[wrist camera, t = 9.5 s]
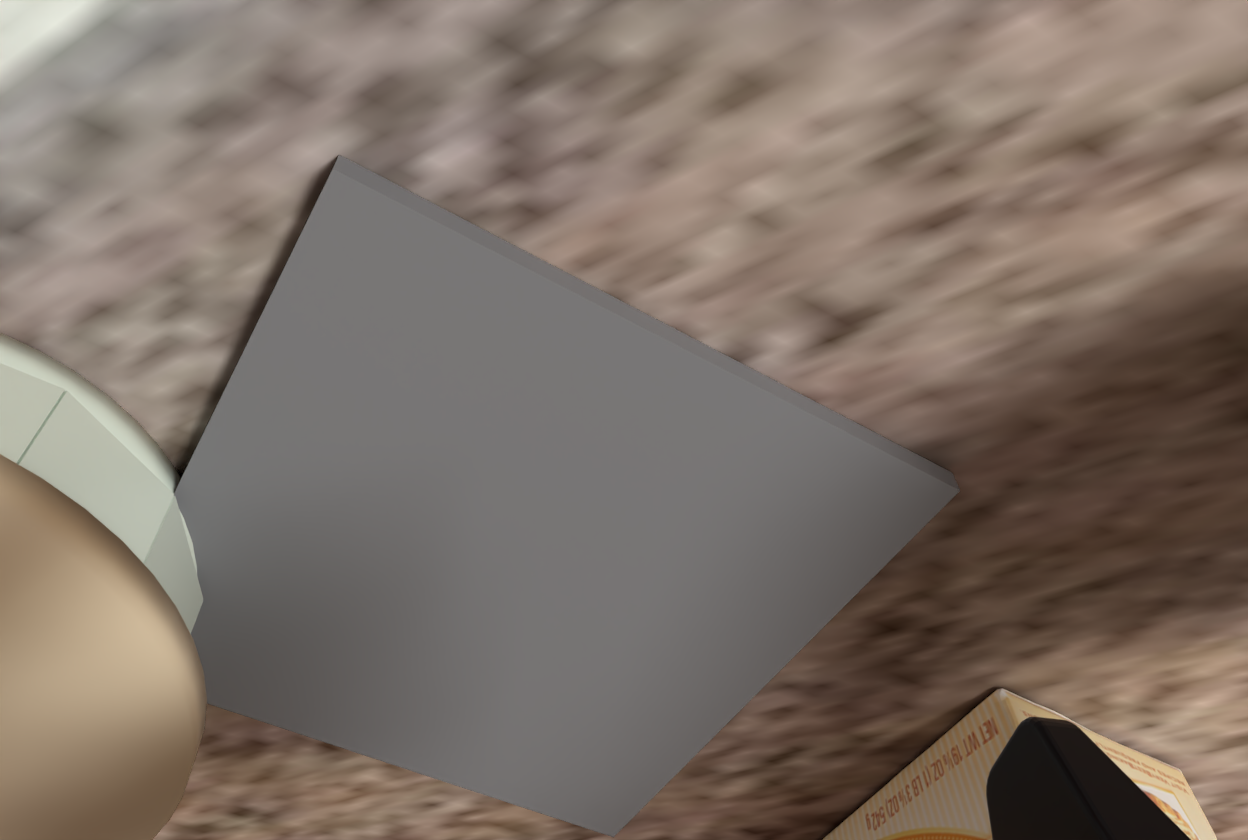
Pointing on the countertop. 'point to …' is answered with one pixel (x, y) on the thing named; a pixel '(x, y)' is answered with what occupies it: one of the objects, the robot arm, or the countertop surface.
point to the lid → (87, 676)
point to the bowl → (98, 463)
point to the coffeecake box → (959, 768)
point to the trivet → (514, 516)
